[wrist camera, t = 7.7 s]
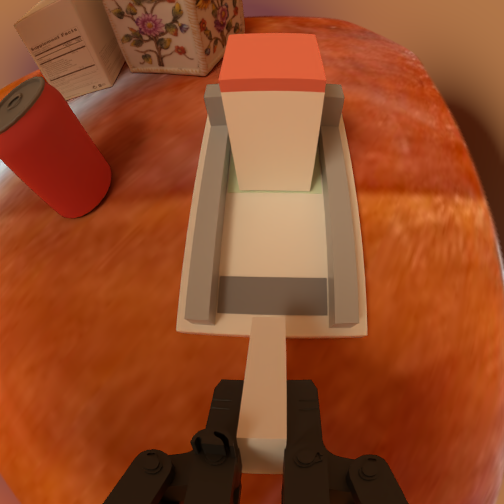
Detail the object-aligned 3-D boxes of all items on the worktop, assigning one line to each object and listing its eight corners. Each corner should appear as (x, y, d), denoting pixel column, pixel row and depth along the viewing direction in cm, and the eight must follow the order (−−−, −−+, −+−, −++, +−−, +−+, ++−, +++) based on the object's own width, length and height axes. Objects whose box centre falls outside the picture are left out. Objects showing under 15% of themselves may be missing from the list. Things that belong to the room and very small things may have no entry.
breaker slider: (309, 191, 21) (326, 80, 12) (239, 190, 22) (218, 80, 13) (306, 139, 23) (315, 34, 14) (243, 139, 24) (228, 34, 14)
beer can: (104, 150, 27) (47, 60, 15) (123, 193, 24) (51, 92, 13) (53, 187, 26) (-16, 112, 14) (65, 235, 23) (-24, 157, 12)
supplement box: (81, 67, 35) (46, -5, 21) (131, 52, 34) (101, -31, 20) (58, 104, 31) (10, 25, 18) (112, 88, 31) (68, -7, 17)
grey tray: (362, 337, 19) (397, 322, 13) (181, 333, 20) (145, 316, 14) (338, 114, 26) (347, 62, 20) (211, 113, 27) (199, 62, 21)
